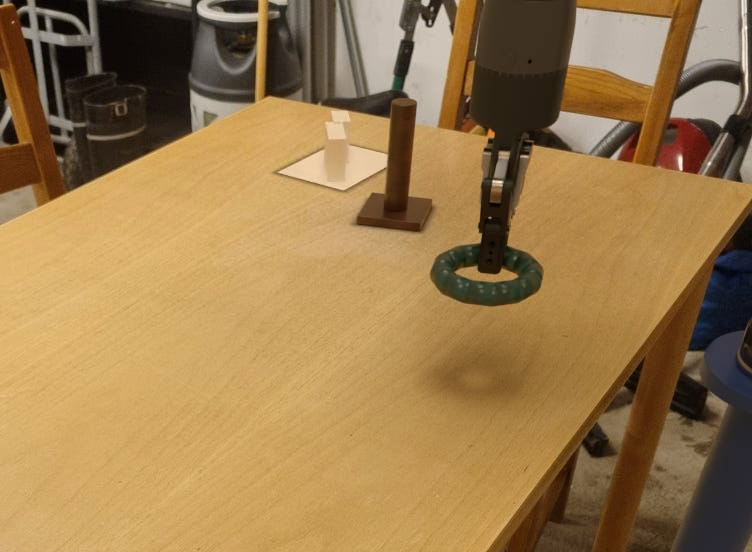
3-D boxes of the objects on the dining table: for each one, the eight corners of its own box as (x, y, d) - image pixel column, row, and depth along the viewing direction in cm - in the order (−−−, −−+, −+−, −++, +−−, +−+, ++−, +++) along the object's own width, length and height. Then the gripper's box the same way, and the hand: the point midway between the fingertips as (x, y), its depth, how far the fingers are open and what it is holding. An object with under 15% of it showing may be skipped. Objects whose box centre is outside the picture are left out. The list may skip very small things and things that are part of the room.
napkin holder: (344, 191, 124) (346, 144, 120) (276, 172, 129) (276, 127, 125) (403, 157, 132) (406, 113, 128) (336, 141, 137) (338, 98, 133)
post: (431, 206, 120) (444, 94, 111) (419, 231, 115) (431, 115, 105) (371, 200, 122) (378, 88, 112) (356, 224, 116) (363, 109, 107)
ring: (545, 267, 88) (549, 246, 86) (534, 315, 81) (538, 293, 80) (440, 256, 90) (442, 235, 88) (421, 302, 83) (423, 280, 82)
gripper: (562, 84, 70) (522, 303, 83) (576, 36, 79) (538, 240, 92) (462, 78, 72) (438, 293, 84) (487, 32, 81) (462, 232, 93)
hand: (490, 265), depth 88 cm, fingers closed on ring, 2 cm apart
